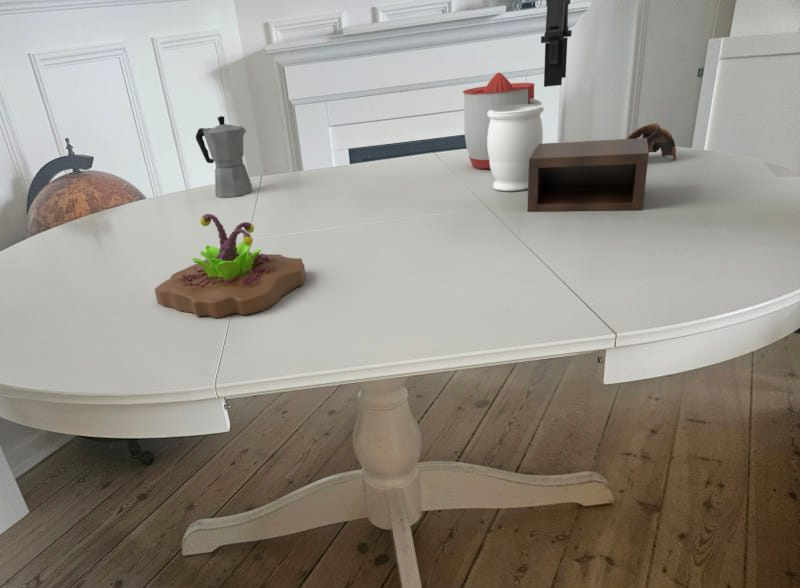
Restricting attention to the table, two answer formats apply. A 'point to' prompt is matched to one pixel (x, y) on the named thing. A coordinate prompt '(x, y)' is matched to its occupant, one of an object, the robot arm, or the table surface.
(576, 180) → the stand
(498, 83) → the citrus juicer
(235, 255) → the plant
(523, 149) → the jar
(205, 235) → the table surface
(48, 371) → the table surface
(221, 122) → the coffeepot
